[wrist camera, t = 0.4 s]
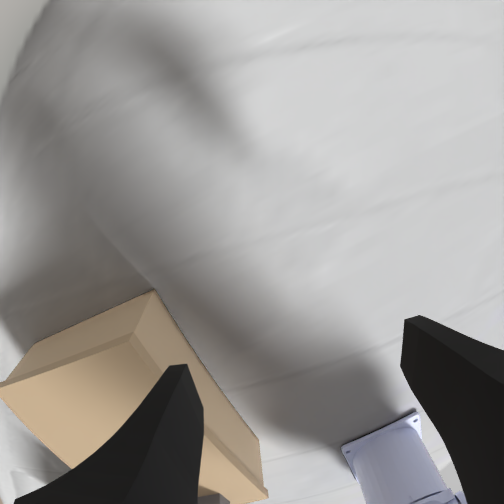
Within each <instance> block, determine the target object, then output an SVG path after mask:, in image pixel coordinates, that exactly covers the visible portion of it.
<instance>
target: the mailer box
mask: <svg viewBox="0 0 504 504" xmlns="http://www.w3.org/2000/svg"><path fill="white" fill-rule="evenodd" d="M131 332H134V333H135V335H136V336H137V337H138V339H139V340H140V342H141V343H142V345H143V346H144V347H145V349H146V350H147V352H148V353H149V354H150V356H151V357H152V359H153V360H154V361H155V363H156V364H157V365H158V367H159V368H160V369H161V371H162V372H163V373H164V372H165V370H166V369H167V368H168V367H169V365H178V364H187V365H188V367H189V370H190V373H191V376H192V378H193V381H194V384H195V386H196V389H197V392H198V394H199V397H200V399H201V402H202V405H203V407H204V424H205V425H206V426H207V427H208V428H209V430H210V431H211V432H212V433H213V434H214V435H215V436H216V438H217V439H218V440H219V441H220V442H221V443H222V444H223V445H224V446H225V447H226V448H227V450H228V451H229V452H230V453H231V454H232V455H233V456H234V457H235V458H236V459H237V460H238V461H239V462H240V463H241V464H242V465H243V466H244V467H245V468H246V469H247V470H248V471H249V472H250V473H251V474H252V475H253V476H254V477H255V478H256V479H257V480H258V481H259V482H260V483H261V484H262V485H263V486H264V484H263V475H262V465H261V456H260V446H259V440H258V438H257V437H256V436H255V434H254V433H253V432H252V431H251V429H250V428H249V427H248V425H247V424H246V423H245V422H244V420H243V419H242V418H241V416H240V415H239V414H238V412H237V411H236V410H235V408H234V407H233V406H232V404H231V403H230V402H229V400H228V399H227V398H226V396H225V395H224V393H223V392H222V391H221V389H220V388H219V386H218V385H217V384H216V382H215V381H214V379H213V378H212V377H211V375H210V374H209V372H208V371H207V369H206V368H205V366H204V365H203V364H202V362H201V361H200V359H199V358H198V356H197V355H196V353H195V352H194V350H193V349H192V347H191V346H190V344H189V343H188V341H187V340H186V338H185V337H184V335H183V334H182V332H181V330H180V329H179V327H178V326H177V324H176V323H175V321H174V319H173V318H172V316H171V315H170V313H169V312H168V310H167V308H166V307H165V305H164V303H163V302H162V300H161V299H160V297H159V295H158V294H157V292H156V290H155V289H153V290H151V291H149V292H147V293H145V294H142V295H140V296H138V297H136V298H133V299H131V300H129V301H127V302H125V303H122V304H120V305H118V306H116V307H114V308H111V309H109V310H107V311H105V312H102V313H100V314H98V315H96V316H94V317H91V318H89V319H87V320H85V321H83V322H80V323H78V324H76V325H74V326H72V327H69V328H67V329H65V330H63V331H61V332H58V333H56V334H54V335H52V336H50V337H48V338H45V339H43V340H41V341H39V342H37V343H34V344H33V346H32V347H31V348H30V349H29V351H28V352H27V353H26V354H25V356H24V357H23V358H22V360H21V361H20V362H19V363H18V365H17V366H16V367H15V369H14V370H13V371H12V373H11V374H10V375H9V377H8V378H7V379H6V380H9V379H11V378H14V377H17V376H19V375H22V374H25V373H28V372H30V371H33V370H36V369H38V368H41V367H44V366H46V365H49V364H52V363H54V362H57V361H60V360H62V359H65V358H67V357H70V356H73V355H75V354H78V353H80V352H83V351H86V350H88V349H91V348H93V347H96V346H98V345H101V344H104V343H106V342H109V341H111V340H114V339H116V338H119V337H121V336H124V335H126V334H129V333H131Z"/></svg>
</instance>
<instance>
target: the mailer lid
mask: <svg viewBox="0 0 504 504" xmlns="http://www.w3.org/2000/svg"><path fill="white" fill-rule="evenodd" d="M162 374H163V372H162V371H161V369H160V368H159V367H158V365H157V364H156V363H155V361H154V360H153V359H152V357H151V356H150V354H149V353H148V352H147V350H146V349H145V347H144V346H143V345H142V343H141V342H140V340H139V339H138V337H137V336H136V335H135V333H134V332H131V333H129V334H126V335H124V336H121V337H119V338H116V339H114V340H111V341H109V342H106V343H104V344H101V345H98V346H96V347H93V348H91V349H88V350H86V351H83V352H80V353H78V354H75V355H73V356H70V357H67V358H65V359H62V360H60V361H57V362H54V363H52V364H49V365H46V366H44V367H41V368H38V369H36V370H33V371H30V372H28V373H25V374H22V375H19V376H17V377H14V378H11V379H9V380H6V381H3V382H0V398H1V399H2V400H3V401H4V402H5V403H6V405H7V406H8V407H9V408H10V409H11V410H12V411H13V413H14V414H15V415H16V416H17V417H18V418H19V419H20V420H21V421H22V422H23V423H24V425H25V426H26V427H27V428H28V429H29V430H30V431H31V432H32V433H33V434H34V435H35V436H36V437H37V438H38V439H39V440H40V441H41V442H42V443H43V444H44V445H46V446H47V447H48V448H49V449H50V450H51V451H52V452H53V453H54V454H55V455H56V456H57V457H59V458H60V459H61V460H62V461H63V462H64V463H65V464H67V465H68V466H69V467H70V468H71V469H73V468H75V467H76V466H77V465H79V464H80V463H81V462H83V461H84V460H85V459H86V458H88V457H89V456H90V455H92V454H93V453H94V452H95V451H97V450H98V449H99V448H100V447H101V446H102V445H103V444H104V443H105V442H106V441H107V440H109V439H110V438H111V437H112V436H113V435H114V434H115V433H116V432H117V431H118V429H119V428H120V427H121V426H122V425H123V424H124V423H125V422H126V420H127V419H128V418H129V417H130V416H131V415H132V413H133V412H134V411H135V410H136V409H137V408H138V406H139V405H140V404H141V402H142V401H143V400H144V398H145V397H146V396H147V395H148V393H149V392H150V391H151V389H152V388H153V387H154V385H155V384H156V382H157V381H158V380H159V378H160V377H161V376H162ZM267 498H268V490H267V489H266V488H265V487H264V486H263V485H262V484H261V483H260V482H259V481H258V480H257V479H256V478H255V477H254V476H253V475H252V474H251V473H250V472H249V471H248V470H247V469H246V468H245V467H244V466H243V465H242V464H241V463H240V462H239V461H238V460H237V459H236V458H235V457H234V456H233V455H232V454H231V453H230V452H229V451H228V450H227V448H226V447H225V446H224V445H223V444H222V443H221V442H220V441H219V440H218V439H217V438H216V436H215V435H214V434H213V433H212V432H211V431H210V430H209V428H208V427H207V426H206V425H205V424H204V439H203V448H202V457H201V466H200V475H199V484H198V504H245V503H250V502H254V501H259V500H263V499H267Z"/></svg>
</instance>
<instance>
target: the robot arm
mask: <svg viewBox="0 0 504 504" xmlns="http://www.w3.org/2000/svg"><path fill="white" fill-rule="evenodd" d="M400 367H401V369H402V371H403V373H404V376H405V378H406V380H407V382H408V384H409V386H410V388H411V390H412V392H413V393H414V395H415V396H416V398H417V400H418V401H419V403H420V404H421V406H422V407H423V409H424V410H425V412H426V413H427V415H428V417H429V418H430V420H431V421H432V423H433V424H434V426H435V428H436V429H437V431H438V432H439V434H440V436H441V438H442V439H443V441H444V443H445V445H446V448H447V450H448V452H449V454H450V457H451V459H452V461H453V464H454V466H455V469H456V471H457V474H458V477H459V479H460V482H461V485H462V488H463V492H462V491H459V492H457V493H455V495H454V494H453V492H452V490H451V489H450V488H449V489H448V488H447V486H446V484H445V483H444V481H443V479H442V477H441V475H440V473H439V471H438V469H437V467H436V465H435V464H434V462H433V460H432V458H431V456H430V454H429V452H428V451H427V449H426V447H425V445H424V443H423V442H422V434H421V423H420V415H419V413H418V412H414V413H412V414H410V415H408V416H406V417H404V418H402V419H400V420H398V421H396V422H394V423H392V424H390V425H388V426H386V427H384V428H382V429H380V430H378V431H375V432H373V433H371V434H369V435H366V436H364V437H362V438H360V439H357V440H355V441H352V442H350V443H348V444H345V445H343V446H342V448H341V450H342V452H343V454H344V456H345V458H346V460H347V462H348V464H349V466H350V468H351V470H352V472H353V474H354V476H355V478H356V480H357V482H358V484H360V486H361V489H362V492H363V495H364V498H365V501H366V504H504V350H501V349H498V348H495V347H493V346H490V345H487V344H485V343H482V342H480V341H477V340H475V339H473V338H470V337H468V336H466V335H464V334H461V333H459V332H457V331H455V330H453V329H450V328H448V327H446V326H444V325H442V324H440V323H438V322H435V321H433V320H431V319H428V318H426V317H423V316H421V315H418V316H415V317H412V318H408V319H405V320H404V333H403V344H402V355H401V364H400ZM203 439H204V407H203V405H202V402H201V399H200V397H199V394H198V392H197V389H196V386H195V384H194V381H193V378H192V376H191V373H190V370H189V367H188V365H187V364H178V365H169V367H168V368H167V369H166V370H165V372H164V373H163V374H162V376H161V377H160V378H159V380H158V381H157V382H156V384H155V385H154V387H153V388H152V389H151V391H150V392H149V393H148V395H147V396H146V397H145V398H144V400H143V401H142V402H141V404H140V405H139V406H138V408H137V409H136V410H135V411H134V412H133V413H132V415H131V416H130V417H129V418H128V419H127V420H126V422H125V423H124V424H123V425H122V426H121V427H120V428H119V429H118V431H117V432H116V433H115V434H114V435H113V436H112V437H111V438H110V439H109V440H107V441H106V442H105V443H104V444H103V445H102V446H101V447H100V448H99V449H98V450H97V451H95V452H94V453H93V454H92V455H90V456H89V457H88V458H86V459H85V460H84V461H83V462H81V463H80V464H79V465H77V466H76V467H75V468H73V469H72V470H70V471H69V472H67V473H66V474H64V475H63V476H61V477H60V478H58V479H56V480H54V481H53V482H51V483H49V484H47V485H45V486H44V487H42V488H40V489H37V490H35V491H33V492H31V493H29V494H26V495H24V496H22V497H19V498H17V499H15V502H14V504H198V484H199V475H200V466H201V457H202V448H203Z"/></svg>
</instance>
